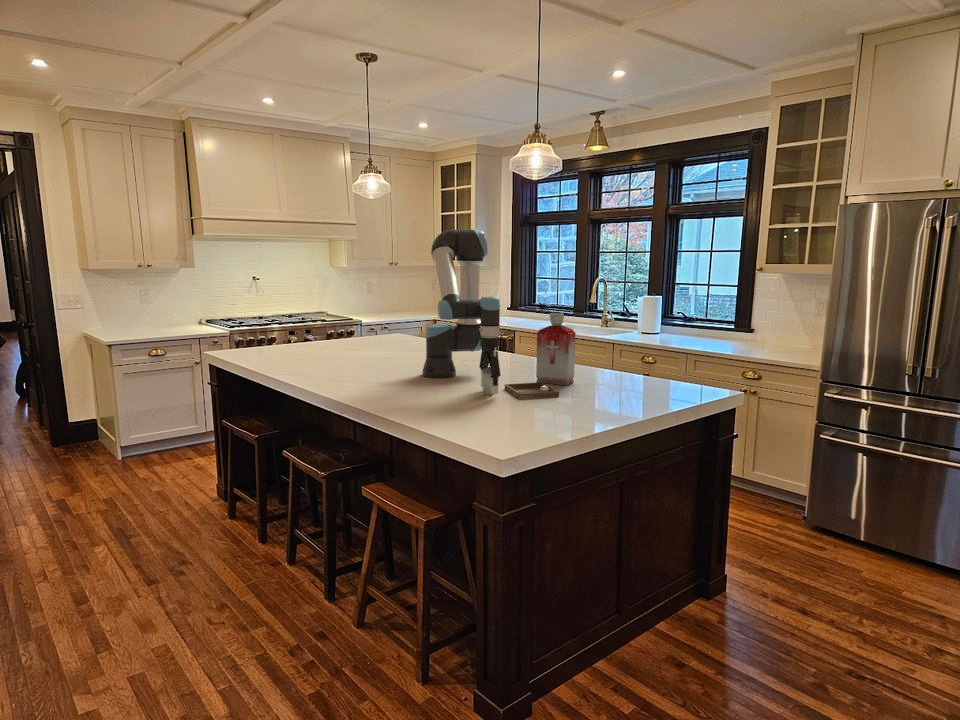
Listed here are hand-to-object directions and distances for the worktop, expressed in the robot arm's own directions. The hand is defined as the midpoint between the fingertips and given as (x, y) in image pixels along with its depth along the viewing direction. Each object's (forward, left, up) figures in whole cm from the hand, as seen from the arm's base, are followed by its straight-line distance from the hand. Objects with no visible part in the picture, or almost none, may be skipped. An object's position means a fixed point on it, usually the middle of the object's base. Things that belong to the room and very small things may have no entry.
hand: (489, 390), depth 246 cm
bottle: (-12, +33, -2) cm, 35 cm away
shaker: (0, 0, -2) cm, 2 cm away
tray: (+4, +16, -2) cm, 17 cm away
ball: (+8, +20, -1) cm, 22 cm away
